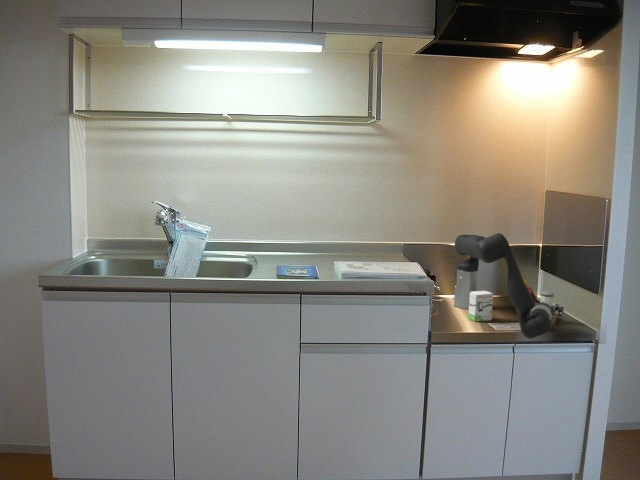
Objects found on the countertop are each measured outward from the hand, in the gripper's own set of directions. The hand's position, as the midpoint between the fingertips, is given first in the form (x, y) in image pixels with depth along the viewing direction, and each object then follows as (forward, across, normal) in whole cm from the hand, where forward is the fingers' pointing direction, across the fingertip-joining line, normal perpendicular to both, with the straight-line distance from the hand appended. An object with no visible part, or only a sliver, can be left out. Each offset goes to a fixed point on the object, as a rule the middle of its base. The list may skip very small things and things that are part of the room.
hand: (545, 304), depth 220 cm
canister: (+7, 0, +8) cm, 10 cm away
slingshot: (+23, +8, +9) cm, 26 cm away
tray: (+8, 0, +8) cm, 12 cm away
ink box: (-6, +25, +9) cm, 27 cm away
